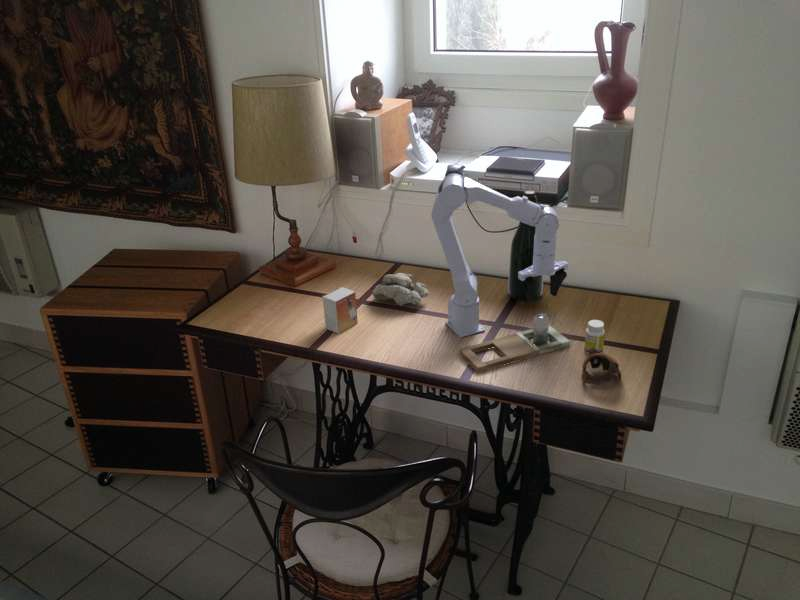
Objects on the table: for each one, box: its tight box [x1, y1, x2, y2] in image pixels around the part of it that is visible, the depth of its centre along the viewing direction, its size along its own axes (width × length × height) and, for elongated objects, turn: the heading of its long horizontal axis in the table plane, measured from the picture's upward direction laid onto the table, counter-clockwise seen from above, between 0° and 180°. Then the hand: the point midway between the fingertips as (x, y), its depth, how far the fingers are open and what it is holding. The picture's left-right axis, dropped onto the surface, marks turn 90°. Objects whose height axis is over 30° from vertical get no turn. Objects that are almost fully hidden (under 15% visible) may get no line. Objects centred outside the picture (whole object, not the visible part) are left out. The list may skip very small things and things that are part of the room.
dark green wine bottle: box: [507, 190, 544, 302], centre depth 202 cm, size 10×10×33 cm
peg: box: [532, 313, 550, 347], centre depth 183 cm, size 4×4×8 cm
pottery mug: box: [581, 348, 622, 386], centre depth 168 cm, size 12×10×8 cm
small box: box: [322, 286, 359, 335], centre depth 195 cm, size 8×6×10 cm
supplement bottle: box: [583, 319, 606, 355], centre depth 178 cm, size 5×5×8 cm
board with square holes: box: [458, 324, 571, 373], centre depth 182 cm, size 10×28×2 cm, turn 114°
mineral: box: [372, 272, 430, 307], centre depth 207 cm, size 12×17×10 cm
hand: (541, 297), depth 186 cm, fingers open, 7 cm apart
